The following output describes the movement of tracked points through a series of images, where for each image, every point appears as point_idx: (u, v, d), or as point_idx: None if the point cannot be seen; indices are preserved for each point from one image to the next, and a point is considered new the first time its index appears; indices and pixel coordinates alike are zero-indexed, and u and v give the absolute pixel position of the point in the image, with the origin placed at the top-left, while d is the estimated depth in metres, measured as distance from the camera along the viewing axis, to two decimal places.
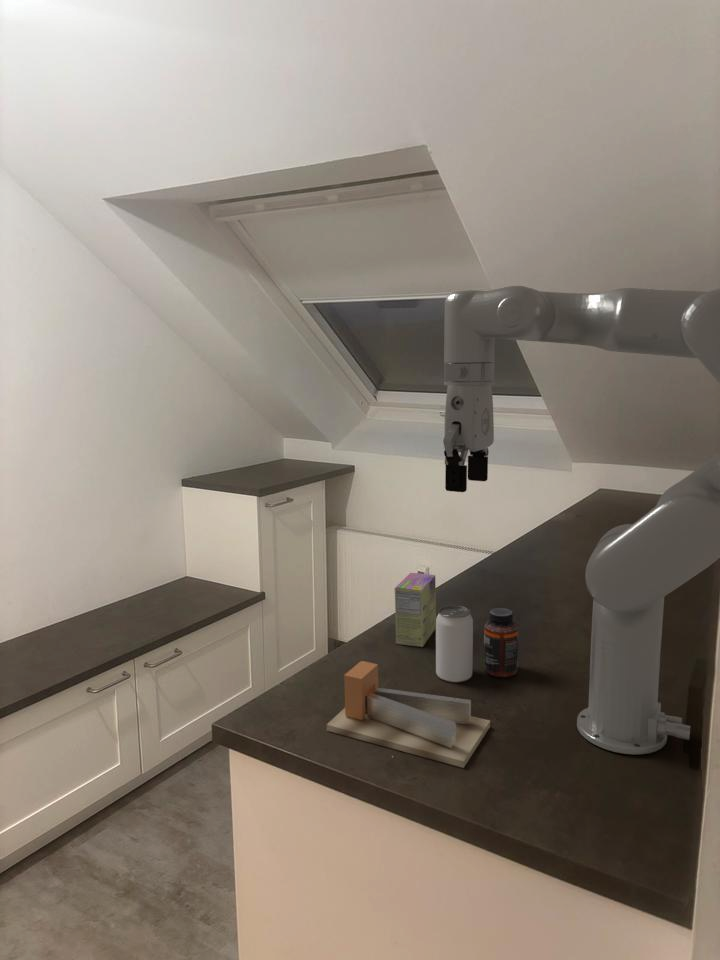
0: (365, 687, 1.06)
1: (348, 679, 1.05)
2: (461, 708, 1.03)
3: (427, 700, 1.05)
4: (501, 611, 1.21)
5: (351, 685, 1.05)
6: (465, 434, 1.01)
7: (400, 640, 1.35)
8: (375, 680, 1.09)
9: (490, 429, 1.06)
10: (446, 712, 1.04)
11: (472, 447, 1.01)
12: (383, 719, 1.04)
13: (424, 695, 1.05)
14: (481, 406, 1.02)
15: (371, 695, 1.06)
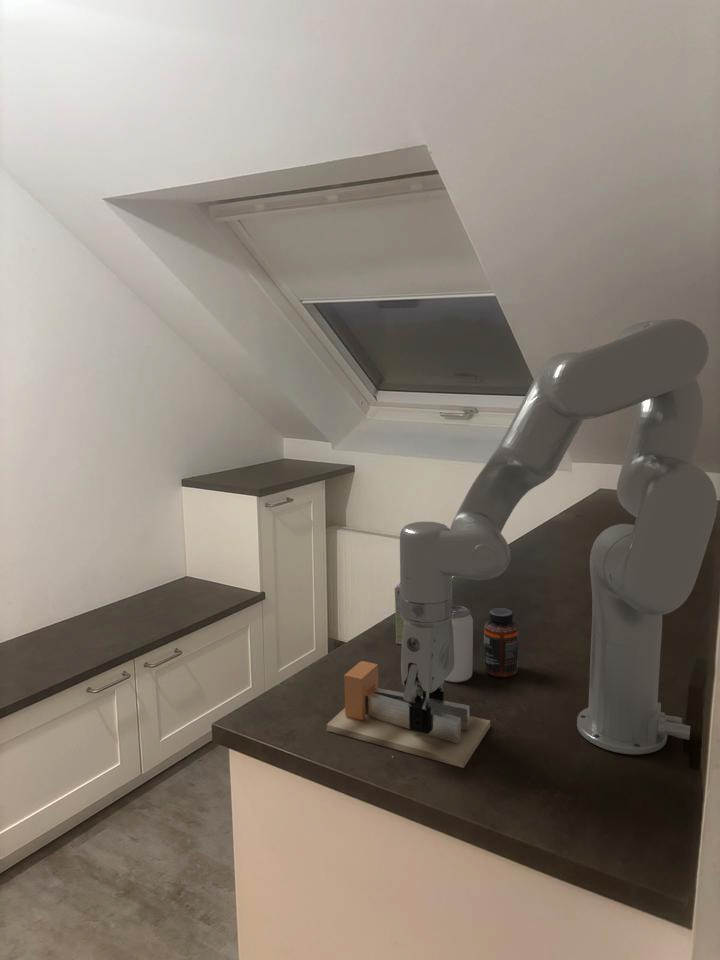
0: (365, 687, 1.06)
1: (348, 679, 1.05)
2: (459, 713, 1.02)
3: None
4: (501, 611, 1.21)
5: (351, 685, 1.05)
6: (422, 677, 0.96)
7: (400, 640, 1.35)
8: (375, 680, 1.09)
9: (450, 658, 1.02)
10: None
11: (429, 690, 0.96)
12: (385, 718, 1.05)
13: None
14: (438, 645, 0.98)
15: (372, 695, 1.06)
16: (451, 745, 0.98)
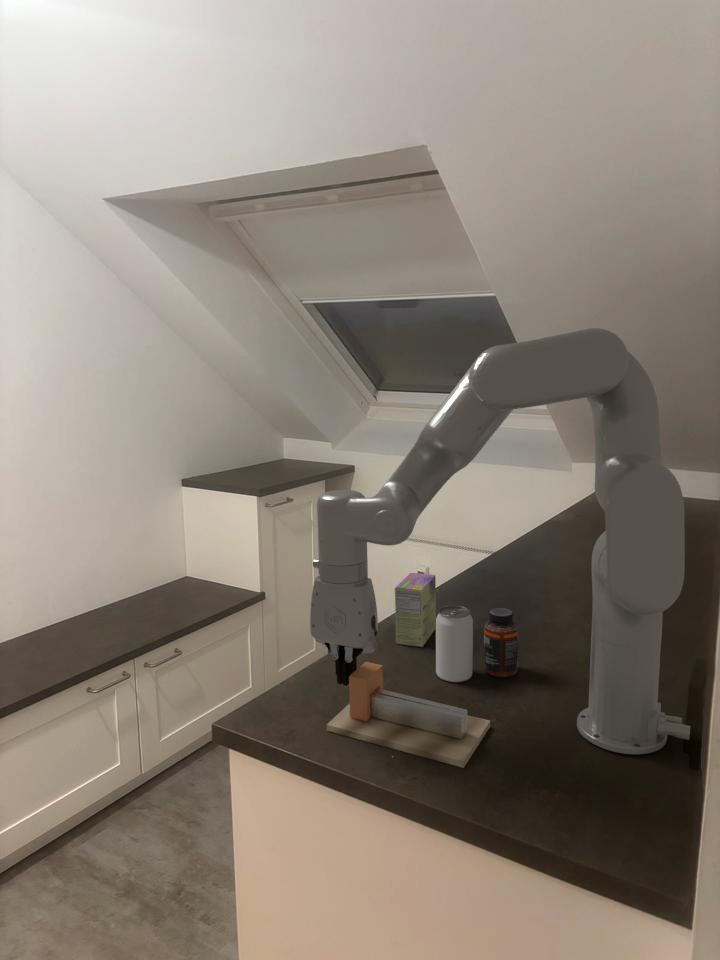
0: (370, 688, 1.05)
1: (353, 680, 1.05)
2: None
3: None
4: (501, 611, 1.21)
5: (356, 686, 1.05)
6: None
7: (400, 640, 1.35)
8: (380, 681, 1.08)
9: (350, 631, 1.04)
10: None
11: (311, 634, 1.08)
12: (387, 718, 1.05)
13: (422, 700, 1.04)
14: (323, 601, 1.05)
15: (373, 695, 1.06)
16: (451, 745, 0.98)
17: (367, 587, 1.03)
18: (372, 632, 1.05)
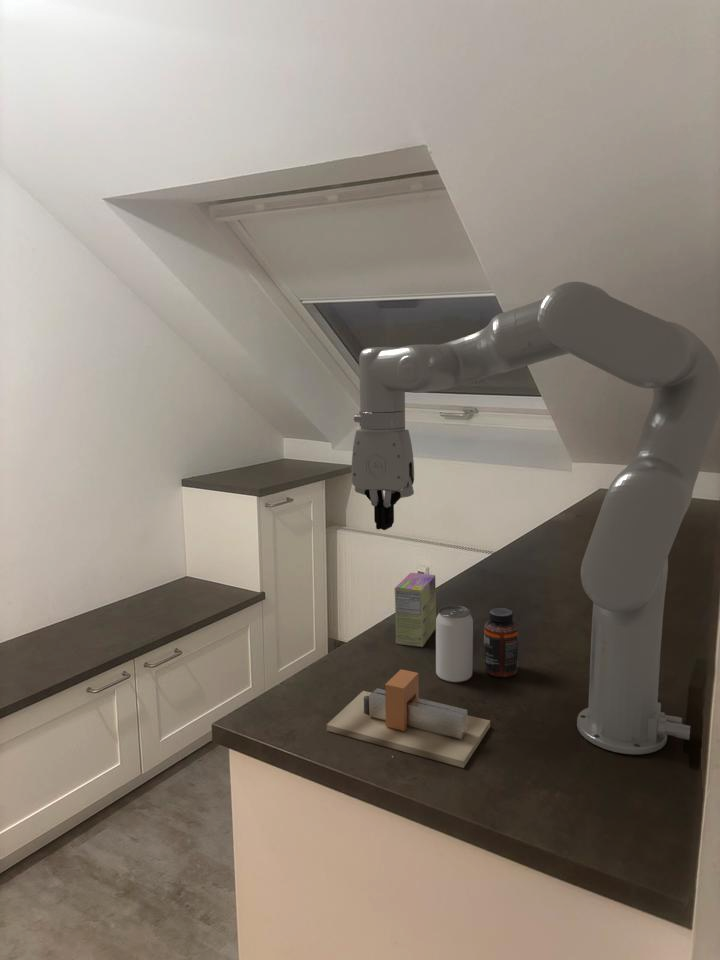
0: (407, 697, 1.02)
1: (389, 688, 1.02)
2: None
3: None
4: (501, 611, 1.21)
5: (392, 695, 1.02)
6: None
7: (400, 640, 1.35)
8: (416, 689, 1.05)
9: (389, 474, 1.13)
10: None
11: (352, 482, 1.17)
12: None
13: (422, 700, 1.04)
14: (364, 449, 1.14)
15: (373, 695, 1.06)
16: (451, 745, 0.98)
17: (405, 434, 1.13)
18: (409, 478, 1.15)
